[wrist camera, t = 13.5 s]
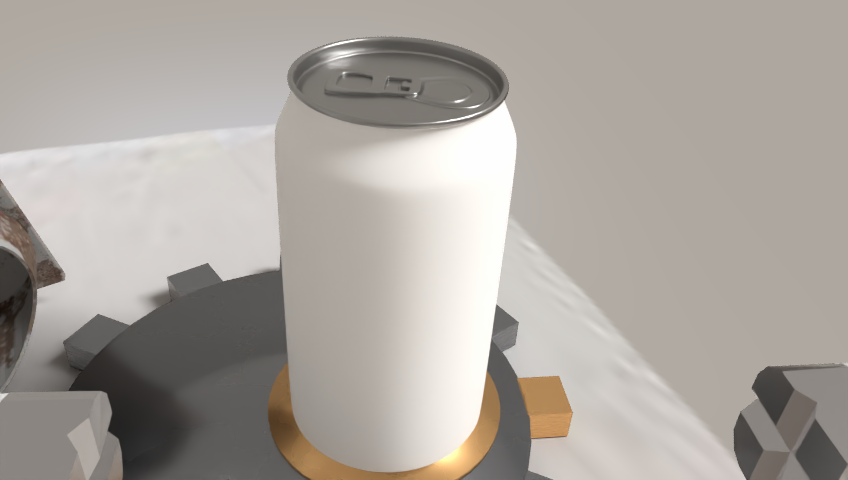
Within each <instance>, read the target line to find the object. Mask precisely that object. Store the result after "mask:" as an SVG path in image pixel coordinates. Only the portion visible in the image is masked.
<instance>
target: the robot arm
mask: <svg viewBox="0 0 848 480" xmlns="http://www.w3.org/2000/svg"><path fill="white" fill-rule="evenodd" d="M752 390H753V392H754V394H755V396H756V398H757V399H756V400H755V401H754V402H752V403H751V404H750V405H749V406H747V407H746V408H745V409H743V410H742V411H741V413H740V415H739V417H738V420H737V422H736V425H735V428H734V451H735V454H736V457H737V461H738V464H739V467H740V468H741V470H742V472H743V474H744V476H745V478H746V480H848V363H840V364H834V363H832V364H810V365H789V366H768V367H766V368H765V369H764V370H762V371H761V372H760V373H759V374H758V375H757V378H756V379H755V382H754V384H753V386H752ZM111 416H112V410H111V407H110V403H109V400H108V396H107V393H105V392H102V391H53V392H10V393H0V480H122V477H123V465H122V452H121V448H120V443H119V439H118V438H117V437H115V436H114V435H113V434H111V433H110V432H108V427H109V423H110V420H111Z"/></svg>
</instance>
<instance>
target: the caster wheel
mask: <svg viewBox="0 0 848 480" xmlns="http://www.w3.org/2000/svg"><path fill="white" fill-rule="evenodd" d="M64 280H65V273H64V271H63V270H62V268H61V267H60V266H59V264H58V263H57V261H56V260H55V258H54V257H53V255H52V254H51V253H50V251H49V250H48V248H47V247H46V245H45V244H44V242H43V241H42V239H41V238H40V237H39V235H38V234H37V232H36V231H35V229H34V228H33V226H32V225H31V224H30V222H29V221H28V219H27V218H26V216H25V215H24V213H23V212H22V210H21V209H20V208H19V206H18V205H17V203H16V202H15V200H14V199H13V197H12V196H11V195H10V193H9V192H8V190H7V189H6V187H5V186H4V184H3V183H2V181H1V180H0V393H2V392H3V391H4V389H5V388H6V387H7V385H8V384H9V382H10V380H11V379H12V377H13V375H14V373H15V372H16V370H17V368H18V366H19V364H20V361H21V359H22V357H23V355H24V353H25V350H26V347H27V344H28V341H29V338H30V335H31V331H32V327H33V323H34V319H35V312H36V305H37V289H39V288H42V287H45V286H48V285H51V284H54V283H57V282H61V281H64Z"/></svg>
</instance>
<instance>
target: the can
mask: <svg viewBox="0 0 848 480" xmlns="http://www.w3.org/2000/svg"><path fill="white" fill-rule="evenodd" d="M287 80H288V85H289V87H290V90H291V92H290V94H289V97H288V99H287V101H286V103H285V105H284V107H283V109H282V111H281V114H280V116H279V119H278V122H277V125H276V130H275V161H276V180H277V198H278V214H279V230H280V247H281V262H282V278H283V294H284V309H285V324H286V339H287V353H288V367H289V381H290V393H291V403H292V410H293V414H294V418H295V421H296V423H297V425H298V427H299V429H300V431H301V432H302V434H303V435H304V437H305V438H306V439H307V440H308V441H309V443H310V444H311V445H313V446H314V447H315V448H316V449H317V450H318V451H320V452H321V453H322V454H324V455H326V456H327V457H329V458H331V459H332V460H334V461H337V462H339V463H341V464H344V465H346V466H349V467H352V468H356V469H360V470H364V471H369V472H378V473H395V472H404V471H409V470H414V469H418V468H422V467H425V466H428V465H430V464H433V463H435V462H437V461H439V460H441V459H443V458H445V457H447V456H448V455H450V454H451V453H453V452H454V451H455V450H456V449H458V448H459V447H460V446H461V445H462V444H463V443H464V442H465V441H466V439H467V438H468V437H469V436H470V434H471V433H472V431H473V430H474V428H475V426H476V424H477V422H478V419H479V415H480V410H481V404H482V398H483V392H484V385H485V378H486V371H487V365H488V358H489V351H490V344H491V337H492V330H493V323H494V315H495V308H496V301H497V294H498V287H499V280H500V273H501V265H502V258H503V251H504V244H505V236H506V229H507V222H508V214H509V207H510V198H511V192H512V184H513V176H514V167H515V158H516V134H515V130H514V126H513V123H512V120H511V118H510V115H509V112H508V110H507V107H506V104H505V101H504V100H505V99H506V97H507V94H508V90H509V83H508V79H507V77H506V75H505V73H504V72H503V71H502V70H501V69H500V68H499V67H498V66H497V65H496V64H495V63H493V62H492V61H490V60H489V59H487V58H485V57H483V56H482V55H480V54H477V53H475V52H473V51H470V50H467V49H464V48H462V47H459V46H455V45H451V44H447V43H443V42H438V41H433V40H426V39H418V38H407V37H368V38H367V37H366V38H356V39H349V40H344V41H338V42H334V43H330V44H326V45H323V46H320V47H318V48H315V49H313V50H311V51H309V52H307V53H305V54H303V55H302V56H300V57H299V58H298V59H297V60H296V61H295V62H294V63H293V64H292V65H291V67H290V69H289V71H288V76H287Z"/></svg>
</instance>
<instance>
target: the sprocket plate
mask: <svg viewBox="0 0 848 480" xmlns="http://www.w3.org/2000/svg"><path fill="white" fill-rule="evenodd" d="M167 280H168V286H169V291H170V297H171V300H172V301H171V302H169V303H167V304H165V305H164V306H162V307H160V308H158V309H156V310H154V311H152V312H151V313H149V314H148V315H146V316H144V317H143V318H141V319H140V320H138V321H136V322H135V323H133V324H132V325H131V326H130V325H127V324H124V323H121V322H119V321H116V320H113V319H110V318H108V317H105V316H102V315H100V314H98V315H96V316H95V317H94V318H93V319H91V320H90V321H89V322H88V323H86V324H85V325H84V326H83V327H81V328H80V329H79V330H78V331H76V332H75V333H74V334H73V335H72V336H70V337H69V338H68V339H67V340H65V341H64V342H63V343H64V346H65V350H66V353H67V357H68V360H69V363H70V366H72V367H75V368H77V369H80V370H82V372H81V373H80V374H79V376H78V377H77V378H76V380H75V381H74V383H73V384H72V386H71V388H70V389H69V391H102V392H105V393H107V396H108V400H109V403H110V407H111V410H112V416H111V420H110V423H109V427H108V432H110V433H111V434H113V435H114V436H115V437H117V438H118V439H119V443H120V448H121V452H122V465H123V477H122V480H552V479H550V478H547V477H544V476H541V475H539V474H536V473H533V472H530V471H528V465H529V457H530V448H531V438H543V437H559V436H567V435H568V431H569V426H570V422H571V418H572V413H573V412H572V410H571V407H570V404H569V402H568V399H567V396H566V394H565V391H564V388H563V386H562V383H561V380H560V378H559V376H550V377H531V378H517V375H516V374H515V372H514V370H513V369H512V367H511V365H510V363H509V362H508V360H507V358H506V357H505V355H504V354H503V353H502V351H504V350H506V349H508V348H510V347H512V346H514V345H515V342H516V336H517V330H518V323H519V322H517V321H516V320H515V319H514V318H513V317H511V316H510V315H509V314H508V313H506V312H505V311H504V310H503V309H501V308H500V307H499V306H498V305H496V308H495V315H494V323H493V330H492V337H491V344H490V351H489V358H488V365H487V371H486V378H485V385H484V392H483V398H482V404H481V410H480V415H479V419H478V422H477V424H476V426H475V428H474V430H473V431H472V433H471V434H470V436H469V437H468V438H467V439H466V441H465V442H464V443H463V444H462V445H461V446H460V447H459V448H458V449H456V450H455V451H454V452H453V453H451V454H450V455H448V456H447V457H445V458H443V459H441V460H439V461H437V462H435V463H433V464H430V465H428V466H425V467H422V468H418V469H414V470H409V471H404V472H395V473H378V472H369V471H364V470H360V469H356V468H352V467H349V466H346V465H344V464H341V463H339V462H337V461H334V460H332V459H331V458H329V457H327V456H326V455H324V454H322V453H321V452H320V451H318V450H317V449H316V448H315V447H314V446H313V445H311V444H310V443H309V441H308V440H307V439H306V438H305V437H304V435H303V434H302V432H301V431H300V429H299V427H298V425H297V423H296V421H295V418H294V414H293V410H292V403H291V393H290V381H289V367H288V353H287V339H286V324H285V309H284V294H283V278H282V262H281V255H280V271H274V272H268V273H261V274H254V275H249V276H245V277H240V278H236V279H232V280H227V281H224V282H223V281H222V280H221V278H220V277H219V276H218V275H217V274H216V272H215V271H214V270H213V269H212V268H211V267H210V265H209V264H208V263H207V264H204V265H201V266H198V267H195V268H192V269H189V270H186V271H183V272H180V273H177V274H174V275H172V276H169V277H167Z"/></svg>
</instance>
